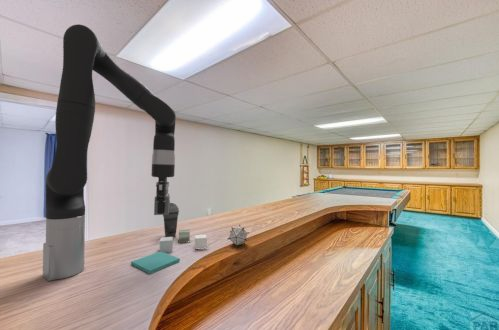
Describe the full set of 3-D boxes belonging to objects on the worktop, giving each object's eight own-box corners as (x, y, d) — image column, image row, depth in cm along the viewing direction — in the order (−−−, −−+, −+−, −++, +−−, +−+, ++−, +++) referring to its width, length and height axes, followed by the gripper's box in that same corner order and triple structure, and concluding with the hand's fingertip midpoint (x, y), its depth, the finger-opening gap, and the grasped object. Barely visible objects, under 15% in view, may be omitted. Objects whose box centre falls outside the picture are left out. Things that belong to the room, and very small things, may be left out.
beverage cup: (175, 239, 99) (176, 194, 99) (159, 239, 99) (159, 194, 99) (180, 234, 106) (181, 192, 106) (165, 234, 106) (166, 192, 107)
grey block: (172, 252, 85) (172, 240, 85) (159, 253, 84) (159, 241, 84) (172, 247, 89) (172, 236, 89) (160, 248, 88) (161, 237, 88)
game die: (237, 252, 95) (240, 229, 101) (251, 249, 90) (254, 226, 96) (221, 245, 90) (225, 222, 96) (235, 242, 85) (239, 218, 91)
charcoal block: (168, 214, 76) (168, 197, 76) (154, 214, 75) (154, 197, 75) (169, 212, 80) (169, 195, 81) (155, 212, 79) (156, 195, 79)
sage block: (189, 242, 96) (189, 231, 96) (178, 242, 95) (178, 232, 95) (189, 238, 100) (189, 228, 101) (179, 239, 99) (179, 229, 99)
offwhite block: (206, 249, 88) (206, 237, 88) (194, 250, 87) (195, 238, 87) (205, 245, 93) (205, 234, 93) (194, 246, 91) (194, 235, 91)
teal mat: (149, 274, 67) (149, 270, 67) (131, 264, 74) (131, 261, 74) (179, 261, 76) (179, 258, 76) (160, 253, 83) (160, 251, 83)
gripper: (173, 163, 72) (171, 216, 72) (175, 164, 86) (174, 208, 86) (148, 162, 70) (146, 216, 70) (154, 163, 84) (153, 208, 84)
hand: (161, 211), depth 78 cm, fingers closed on charcoal block, 4 cm apart
